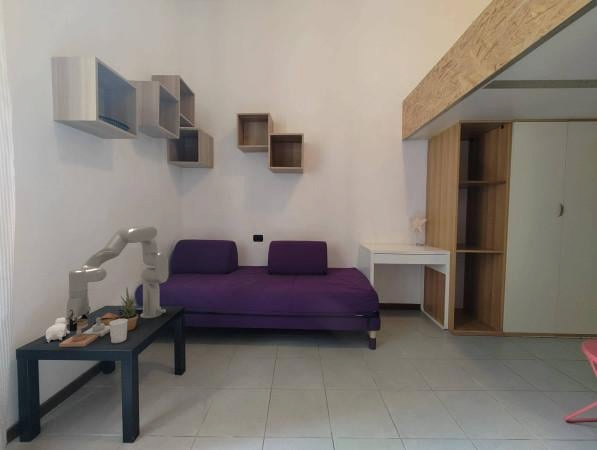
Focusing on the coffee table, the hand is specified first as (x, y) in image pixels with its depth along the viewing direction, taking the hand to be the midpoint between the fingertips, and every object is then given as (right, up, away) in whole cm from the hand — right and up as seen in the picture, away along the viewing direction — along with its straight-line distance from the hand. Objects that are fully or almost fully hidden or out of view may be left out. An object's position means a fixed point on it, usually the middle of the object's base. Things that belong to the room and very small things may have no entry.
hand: (78, 327), depth 141 cm
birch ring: (0, 0, 0) cm, 0 cm away
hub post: (0, -7, 0) cm, 7 cm away
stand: (+1, -7, +12) cm, 14 cm away
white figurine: (-16, -7, +6) cm, 19 cm away
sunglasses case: (-5, -7, +28) cm, 30 cm away
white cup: (+19, -8, +3) cm, 21 cm away
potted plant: (+15, -7, +17) cm, 24 cm away
